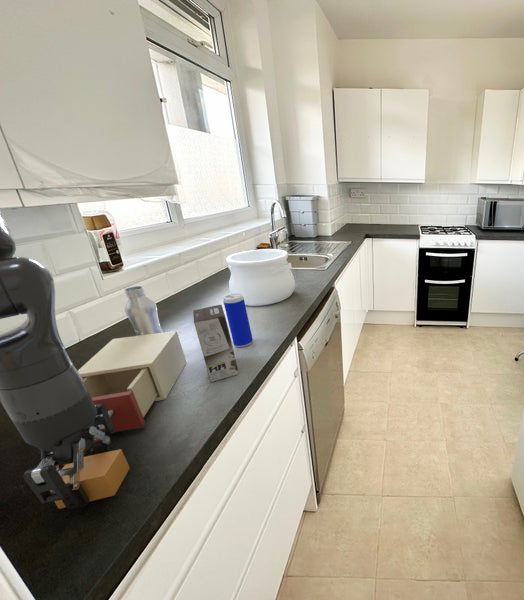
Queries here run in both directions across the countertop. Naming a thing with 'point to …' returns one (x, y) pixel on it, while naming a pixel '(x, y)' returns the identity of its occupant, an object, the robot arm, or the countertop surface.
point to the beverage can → (238, 320)
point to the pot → (261, 276)
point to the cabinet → (141, 358)
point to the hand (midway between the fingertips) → (95, 483)
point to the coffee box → (215, 342)
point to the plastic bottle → (142, 312)
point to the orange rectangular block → (100, 475)
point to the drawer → (123, 396)
